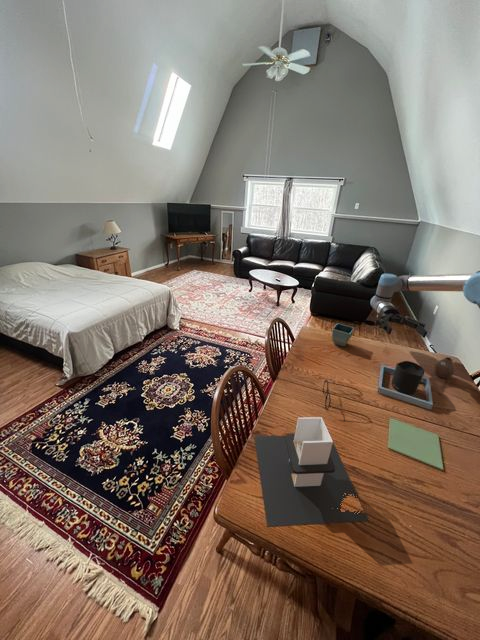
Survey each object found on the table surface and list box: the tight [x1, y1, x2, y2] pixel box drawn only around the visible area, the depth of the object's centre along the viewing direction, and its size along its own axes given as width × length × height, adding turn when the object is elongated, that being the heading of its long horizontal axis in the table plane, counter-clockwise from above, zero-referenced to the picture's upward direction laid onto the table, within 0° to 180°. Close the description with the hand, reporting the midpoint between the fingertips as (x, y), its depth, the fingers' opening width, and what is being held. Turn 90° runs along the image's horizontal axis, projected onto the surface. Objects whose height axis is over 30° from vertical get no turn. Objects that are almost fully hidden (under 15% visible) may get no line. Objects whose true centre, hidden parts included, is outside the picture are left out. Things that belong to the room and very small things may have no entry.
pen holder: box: [390, 360, 426, 395], centre depth 106 cm, size 9×9×10 cm
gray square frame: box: [376, 364, 434, 410], centre depth 108 cm, size 18×18×2 cm
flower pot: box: [331, 323, 355, 347], centre depth 137 cm, size 9×9×9 cm
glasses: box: [322, 379, 371, 421], centre depth 98 cm, size 14×15×5 cm
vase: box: [433, 356, 456, 379], centre depth 115 cm, size 7×7×9 cm
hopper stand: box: [253, 416, 370, 528], centre depth 70 cm, size 25×24×16 cm
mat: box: [387, 417, 444, 471], centre depth 84 cm, size 14×14×1 cm
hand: (407, 333), depth 109 cm, fingers open, 13 cm apart
